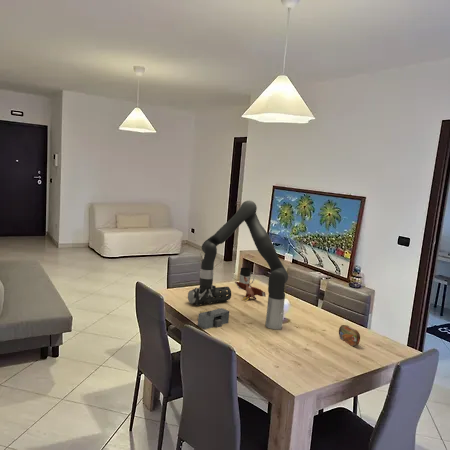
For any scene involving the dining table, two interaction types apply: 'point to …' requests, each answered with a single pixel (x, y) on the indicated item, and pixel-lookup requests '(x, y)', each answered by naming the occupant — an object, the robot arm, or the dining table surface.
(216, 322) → the plug rod
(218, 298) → the muzzle brake
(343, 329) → the tin
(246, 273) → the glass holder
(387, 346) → the dining table surface
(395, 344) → the dining table surface
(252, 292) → the decorative bird
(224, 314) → the block
